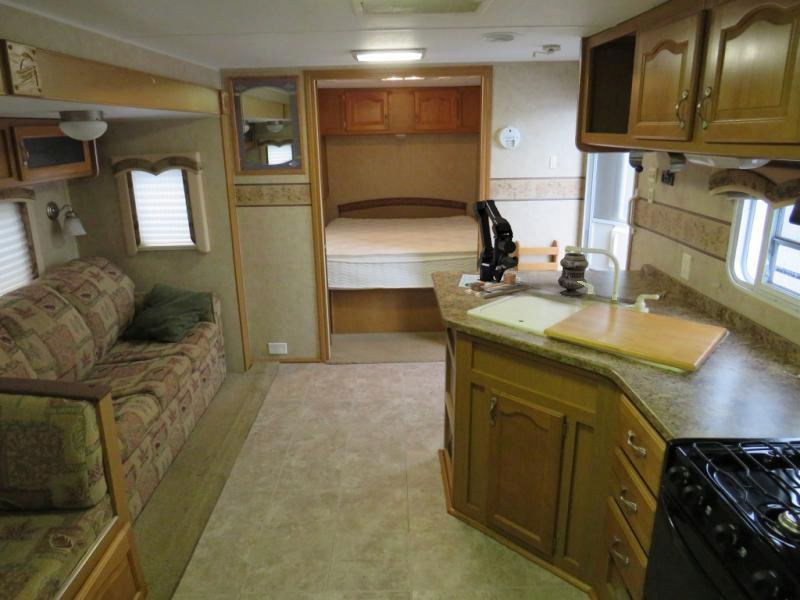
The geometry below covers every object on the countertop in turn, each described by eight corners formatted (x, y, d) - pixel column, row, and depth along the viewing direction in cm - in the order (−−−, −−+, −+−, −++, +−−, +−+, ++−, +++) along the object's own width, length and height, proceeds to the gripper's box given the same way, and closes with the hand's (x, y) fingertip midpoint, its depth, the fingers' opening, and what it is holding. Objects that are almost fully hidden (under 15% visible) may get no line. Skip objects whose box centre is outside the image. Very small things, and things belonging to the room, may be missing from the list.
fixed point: (470, 289, 244) (471, 283, 244) (477, 288, 247) (477, 281, 246) (486, 294, 237) (486, 287, 236) (492, 292, 240) (493, 286, 239)
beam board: (464, 292, 244) (464, 289, 243) (510, 282, 261) (510, 279, 261) (483, 298, 235) (483, 295, 234) (530, 287, 252) (530, 284, 252)
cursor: (503, 282, 257) (503, 274, 255) (508, 281, 259) (509, 273, 258) (518, 286, 249) (519, 278, 248) (524, 285, 252) (525, 277, 250)
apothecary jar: (570, 299, 234) (575, 258, 229) (551, 292, 244) (554, 253, 239) (591, 296, 239) (595, 255, 234) (571, 289, 250) (574, 250, 244)
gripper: (499, 254, 235) (497, 289, 240) (527, 249, 246) (525, 283, 251) (480, 250, 244) (479, 284, 248) (508, 246, 255) (506, 278, 259)
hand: (498, 283), depth 251 cm, fingers closed
